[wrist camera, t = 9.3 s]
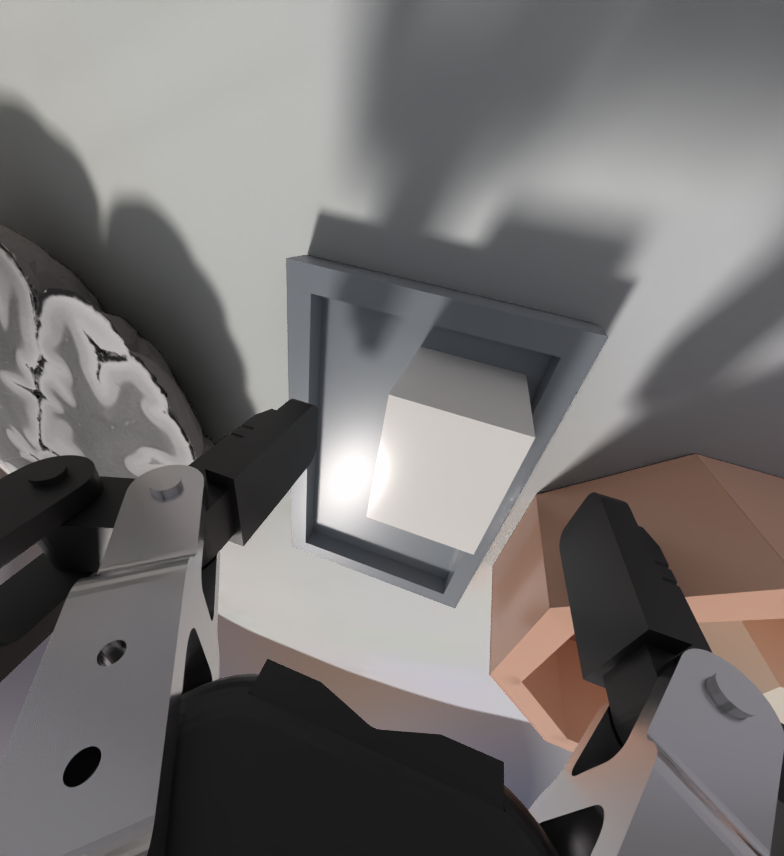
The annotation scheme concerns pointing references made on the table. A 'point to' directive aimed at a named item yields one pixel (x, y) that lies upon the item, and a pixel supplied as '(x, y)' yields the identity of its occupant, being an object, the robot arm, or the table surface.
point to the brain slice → (81, 376)
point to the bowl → (688, 559)
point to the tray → (368, 394)
